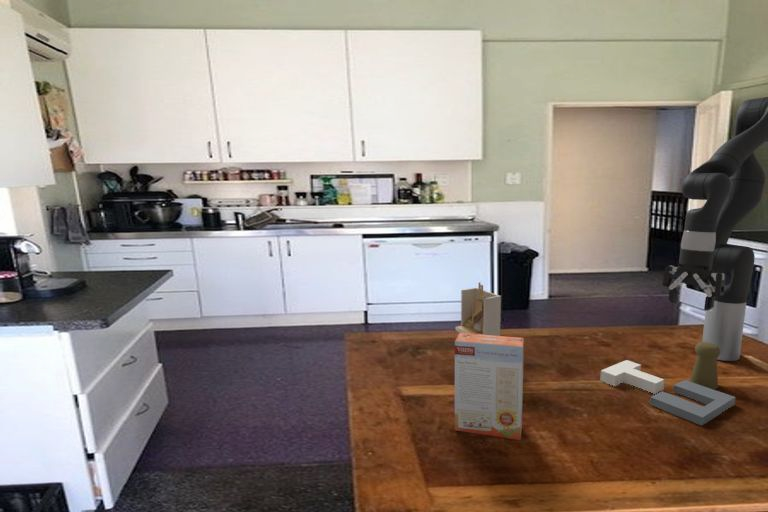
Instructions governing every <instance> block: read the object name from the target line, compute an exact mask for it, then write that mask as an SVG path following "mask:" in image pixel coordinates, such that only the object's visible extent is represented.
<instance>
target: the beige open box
mask: <svg viewBox="0 0 768 512" xmlns="http://www.w3.org/2000/svg"><path fill="white" fill-rule="evenodd" d="M460 293H461V294H460V295H461V297H460V298H461V299H460V300H461V301H460V302H461V303H460V304H461V305H460V310H461V311H460V325H458V326H455V331H457V332H458V333H470V334H482V335H494V336H501V315H502V314H501V309H502V308H501V307H502V295H499V294H496V293H493V292H490V291H487V290H484V284H481V282H480V281H479V282H478V287H472V288H466V289H461V292H460Z"/></svg>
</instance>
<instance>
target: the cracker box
mask: <svg viewBox="0 0 768 512" xmlns="http://www.w3.org/2000/svg"><path fill="white" fill-rule="evenodd" d="M524 341H525V339H524V337H516V336H504V335H500V336H494V335H482V334H470V333H460V332H458V334H457V337H456V338H455V341H454V430H455V431H456V432H465V433H470V434H478V435H485V436H491V437H496V438H501V439H502V438H503V439H510V440H517V441H521V439H522V430H523V429H522V427H523V397H524V396H523V395H524V394H523V386H524V385H523V384H524V347H525V346H524V344H525V342H524Z"/></svg>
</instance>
